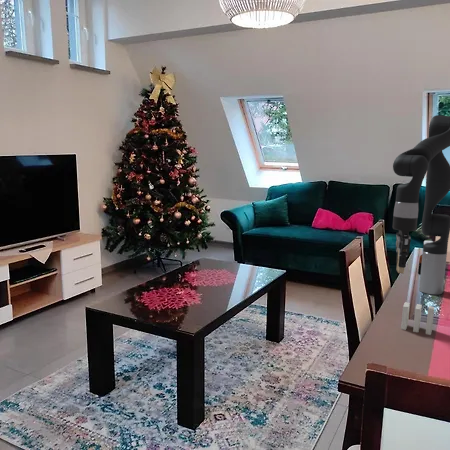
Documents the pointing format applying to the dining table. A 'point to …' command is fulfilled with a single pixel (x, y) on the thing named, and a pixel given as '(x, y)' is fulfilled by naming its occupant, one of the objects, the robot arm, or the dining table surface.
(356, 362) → the dining table surface
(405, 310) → the domino
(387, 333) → the dining table surface
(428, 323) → the domino
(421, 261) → the battery
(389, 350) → the dining table surface
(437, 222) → the robot arm
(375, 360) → the dining table surface
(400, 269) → the domino
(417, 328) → the domino
